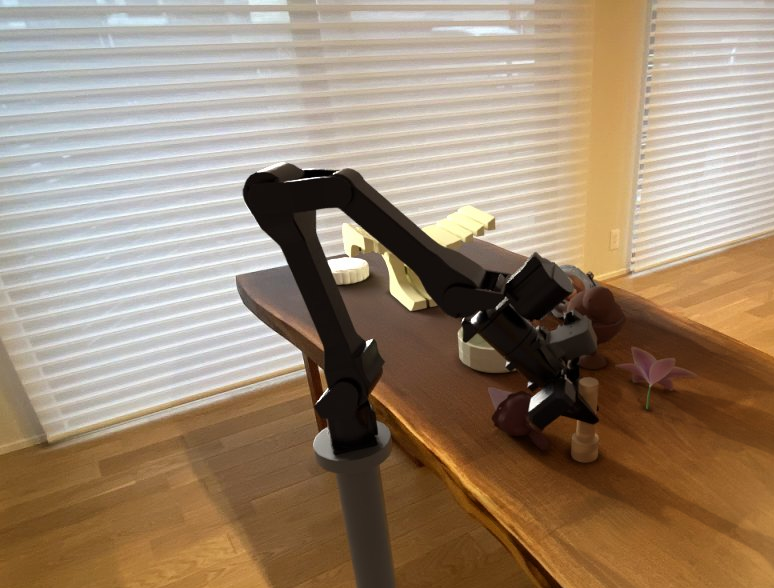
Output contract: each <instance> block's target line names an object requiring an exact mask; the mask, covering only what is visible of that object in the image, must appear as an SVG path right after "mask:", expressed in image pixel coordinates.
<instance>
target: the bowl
mask: <svg viewBox="0 0 774 588" xmlns="http://www.w3.org/2000/svg"><path fill="white" fill-rule="evenodd" d="M457 341H458V343H457V344H458V358H459V360H460V361H461V363H462V364H464V365H465V366H467V367H469V368H470V369H473V370H474V371H478V372H481V373H482V372H483V373H488V374H503V373H512V372H515V371H517V370H516V369H514V370H512V371H511V372H510V371H509V370H508V369H507V368H506V367H505V366H506V362H507V360H505V359H504V358H503V357H502V356H501V355H500V354H499V353H498V352H497V351H496V350H495V349H494V348H493V347H492V346H490V345H489V344H488V343H487V342H486V341H485V340H484V339H483V338H482V337H481V336H480V335H479V334H478V333H477V334H476V335H475V336H474V337H473V338H472V339H470V340H469V341H468V342H467V343H464V342H463V328H462V326H461V327H460V328H459V330H458V331H457Z"/></svg>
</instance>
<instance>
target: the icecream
mask: <svg viewBox="0 0 774 588" xmlns="http://www.w3.org/2000/svg"><path fill="white" fill-rule="evenodd" d="M487 390H488V394H489V396H490V399H491V403H492V405H493V407H494V410H495V411H494V413H492V415H491V421H492V422H493V425H494V427H496V428H497V429H499V430H500V431H502V432H505V433H506V435H508V436H512V437H525V436H527V435H528V436H529V438H530V440H531V441H532V443H533V444H534V445H535V446H536V447H537V448H538V449H540V450H541V451H546V450H547V449H548V448H549V442H548V439H546V437H545V435H544V434H543V432H544V430H545V428H544V429H542V430H538V429H536V428H535V427H534V426H533V425H532V424H531V423H530V422H529V421H528V411H529V406H530V400H531V398H532V397H533V395H532V393H531V392H527V391H525V390H520V391H517V392H511V391H507V390H503V389H499V388H496V387H493V386H492V387H491V386H488V388H487Z"/></svg>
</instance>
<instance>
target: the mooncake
mask: <svg viewBox="0 0 774 588" xmlns="http://www.w3.org/2000/svg"><path fill="white" fill-rule="evenodd" d="M327 261H328V264H329V266H330V269H331V271H332V274H333V276H334V279H335V281H336V284H337V286H339V285H340V286H341V285H350V284H356V283H360V282H362V281H364V280H366V279H367V278H369V276H370V267H369V266H370V265H369V262H367V260H366V259H363V258H357V257H352V258H351V257H349V256H348V257H347V256H345V257H344V256H343V257H339V258H332V259H329V260H327Z"/></svg>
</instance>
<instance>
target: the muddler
mask: <svg viewBox="0 0 774 588" xmlns="http://www.w3.org/2000/svg"><path fill="white" fill-rule="evenodd" d="M579 393H580V394H581V396H582V397H583V398H584V400H585V401H586V402H587V403H588V405H589V406H590V407H591V408H592V410H593V411H594V412H595V414H596V415H597V412H598V411H597V405H598V395H599V380H598V379H596V378H595V377H590V376H585V377H582V379H580V380H579ZM596 424H597V423H596ZM596 424H594V425H593V424H589V423H586V422H582V421H579V420H576V431H575V432H574V433H572V435H571V447H570V455H571V458H572V460H574V461H577V462H579V463H585V464H586V463H587V464H588V463H592V462H594V461H596V460H597V458H598V456H599V443H600V437H599V435H598V434H597V433H596V426H597V425H596Z"/></svg>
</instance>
